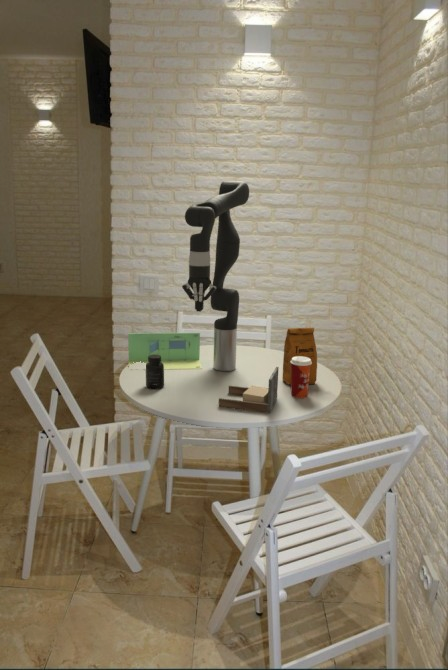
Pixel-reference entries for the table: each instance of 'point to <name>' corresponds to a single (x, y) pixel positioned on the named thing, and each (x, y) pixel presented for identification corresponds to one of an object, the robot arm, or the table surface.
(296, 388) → the paper cup
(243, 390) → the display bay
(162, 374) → the supplement bottle
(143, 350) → the display stand
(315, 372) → the coffee package
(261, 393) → the carton
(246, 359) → the table surface
